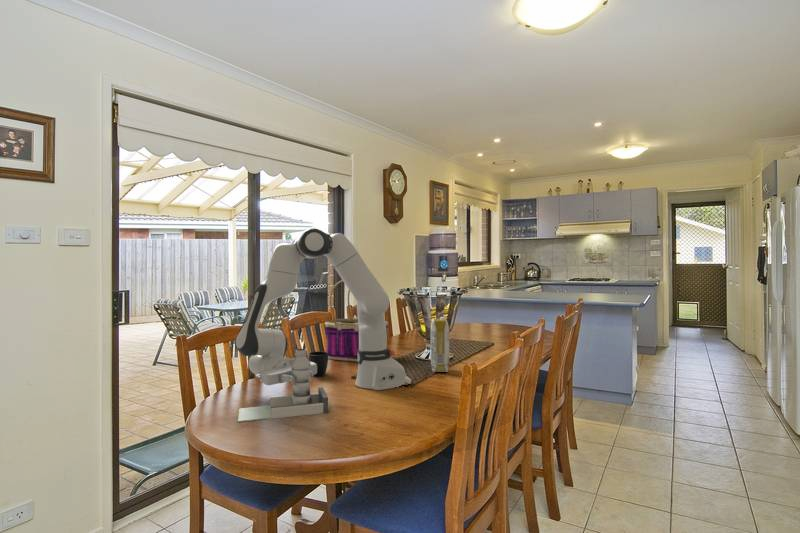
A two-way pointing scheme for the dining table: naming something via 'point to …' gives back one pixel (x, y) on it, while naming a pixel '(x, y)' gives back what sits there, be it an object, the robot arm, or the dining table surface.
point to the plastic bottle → (301, 378)
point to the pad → (254, 413)
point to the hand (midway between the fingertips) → (302, 376)
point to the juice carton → (440, 345)
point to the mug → (319, 362)
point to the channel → (299, 410)
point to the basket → (343, 336)
